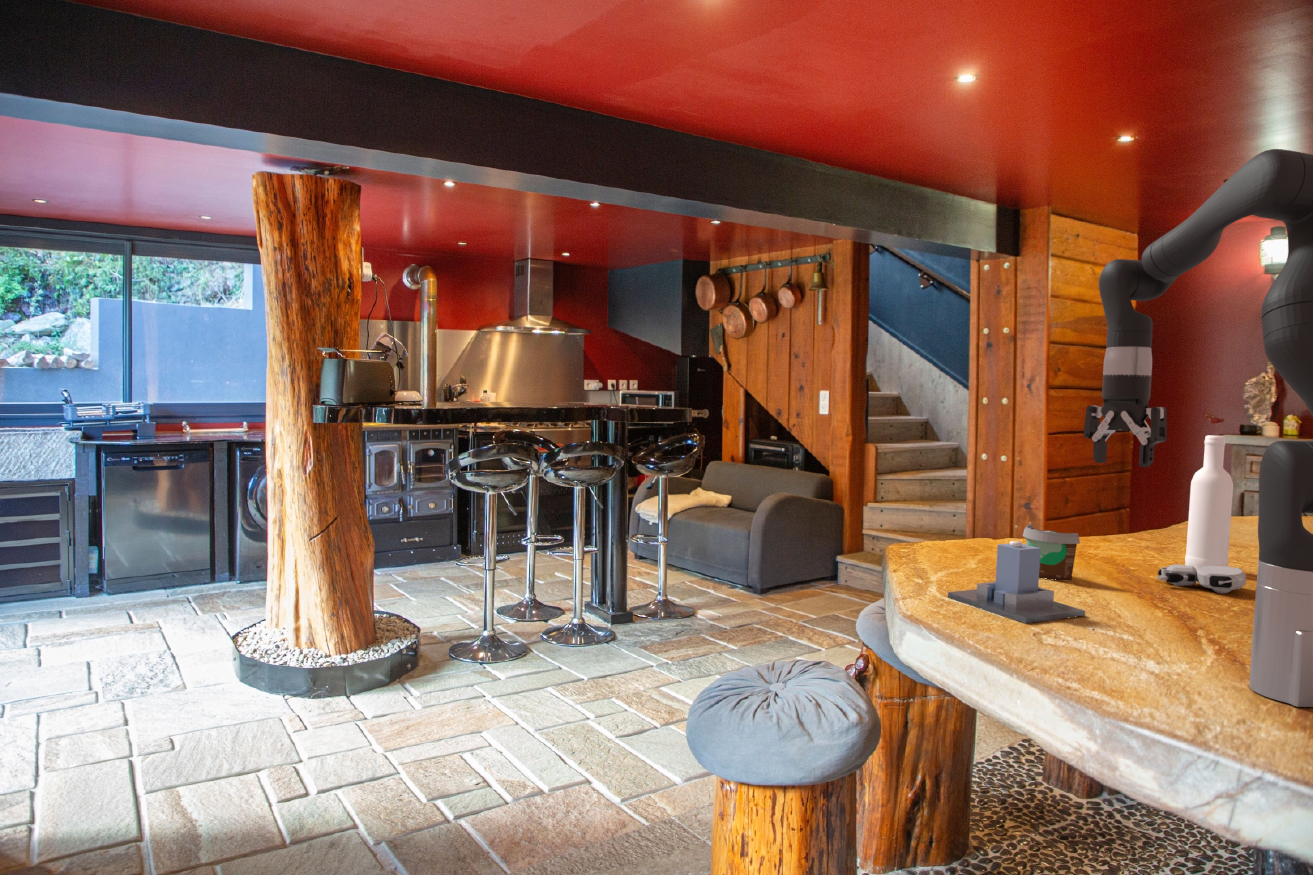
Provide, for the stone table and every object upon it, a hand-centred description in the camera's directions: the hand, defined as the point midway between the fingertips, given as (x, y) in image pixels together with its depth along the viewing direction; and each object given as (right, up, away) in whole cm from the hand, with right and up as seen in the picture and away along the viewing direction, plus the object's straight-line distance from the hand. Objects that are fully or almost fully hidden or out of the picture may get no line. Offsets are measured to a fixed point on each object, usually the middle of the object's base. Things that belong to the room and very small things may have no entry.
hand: (1121, 464), depth 151 cm
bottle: (+39, -25, +37) cm, 59 cm away
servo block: (-18, -25, +1) cm, 31 cm away
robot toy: (+27, -26, +21) cm, 43 cm away
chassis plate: (-19, -26, +1) cm, 32 cm away
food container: (-2, -25, +27) cm, 36 cm away
